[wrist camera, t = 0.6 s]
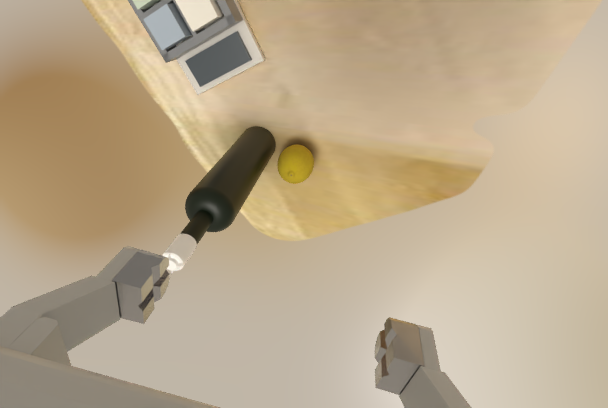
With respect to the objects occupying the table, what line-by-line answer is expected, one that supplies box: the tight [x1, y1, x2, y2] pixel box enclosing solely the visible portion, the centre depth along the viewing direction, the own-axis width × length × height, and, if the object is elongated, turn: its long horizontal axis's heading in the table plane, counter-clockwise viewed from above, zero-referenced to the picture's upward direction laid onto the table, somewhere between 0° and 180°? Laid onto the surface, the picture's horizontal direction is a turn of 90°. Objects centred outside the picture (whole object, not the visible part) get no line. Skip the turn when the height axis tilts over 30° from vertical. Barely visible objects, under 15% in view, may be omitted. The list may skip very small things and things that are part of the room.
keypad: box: [128, 0, 265, 95], centre depth 45 cm, size 18×12×4 cm, turn 26°
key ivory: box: [175, 0, 224, 32], centre depth 43 cm, size 4×4×2 cm
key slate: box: [143, 3, 192, 50], centre depth 44 cm, size 4×4×2 cm
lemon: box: [278, 145, 314, 184], centre depth 52 cm, size 6×6×8 cm
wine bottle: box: [162, 127, 275, 273], centre depth 43 cm, size 6×6×30 cm
